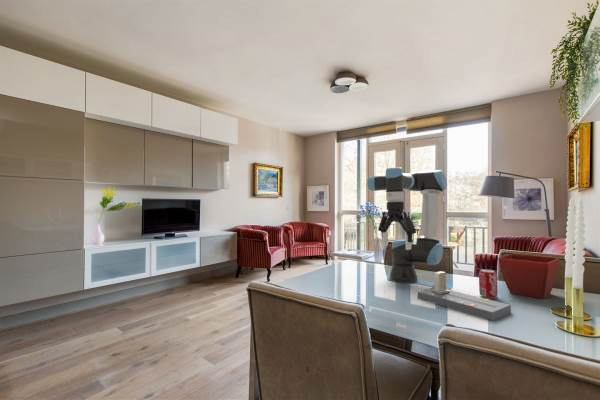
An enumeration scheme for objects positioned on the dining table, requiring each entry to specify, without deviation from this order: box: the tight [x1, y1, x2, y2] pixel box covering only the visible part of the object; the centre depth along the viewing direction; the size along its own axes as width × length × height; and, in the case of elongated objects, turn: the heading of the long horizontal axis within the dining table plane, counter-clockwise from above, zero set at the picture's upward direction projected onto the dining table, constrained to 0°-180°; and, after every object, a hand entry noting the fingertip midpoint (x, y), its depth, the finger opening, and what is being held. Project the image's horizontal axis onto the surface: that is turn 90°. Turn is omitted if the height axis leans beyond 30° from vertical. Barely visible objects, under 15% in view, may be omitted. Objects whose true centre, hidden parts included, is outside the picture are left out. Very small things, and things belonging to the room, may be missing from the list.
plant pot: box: [497, 253, 560, 299], centre depth 137 cm, size 19×19×17 cm
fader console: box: [417, 286, 512, 321], centre depth 123 cm, size 14×32×3 cm, turn 31°
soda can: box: [478, 268, 498, 299], centre depth 133 cm, size 7×7×12 cm
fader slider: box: [431, 270, 451, 295], centre depth 131 cm, size 6×5×9 cm
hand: (396, 247), depth 131 cm, fingers open, 13 cm apart
